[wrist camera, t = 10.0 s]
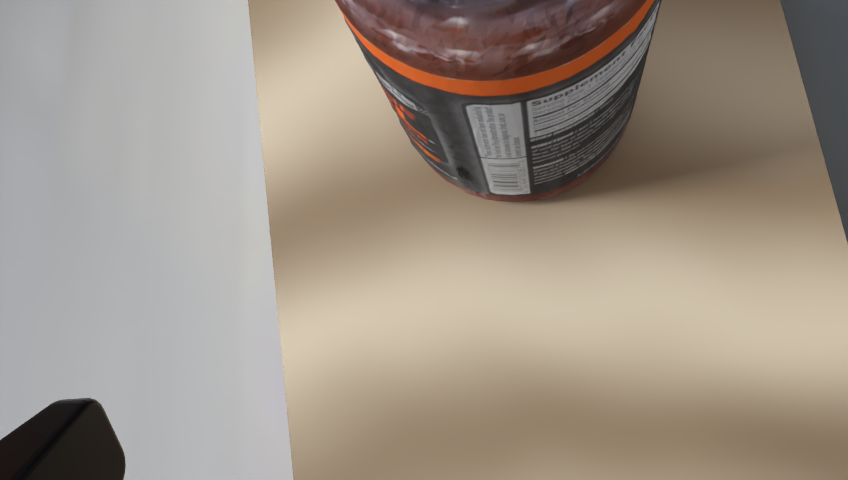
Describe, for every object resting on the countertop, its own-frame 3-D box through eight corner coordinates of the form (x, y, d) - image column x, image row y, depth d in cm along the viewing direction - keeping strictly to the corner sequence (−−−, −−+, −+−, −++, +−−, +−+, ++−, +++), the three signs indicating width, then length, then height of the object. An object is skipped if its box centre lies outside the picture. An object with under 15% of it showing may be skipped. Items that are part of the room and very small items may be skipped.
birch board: (906, 534, 18) (930, 542, 17) (321, 602, 20) (306, 614, 19) (726, -132, 22) (735, -161, 21) (258, -25, 24) (243, -47, 23)
